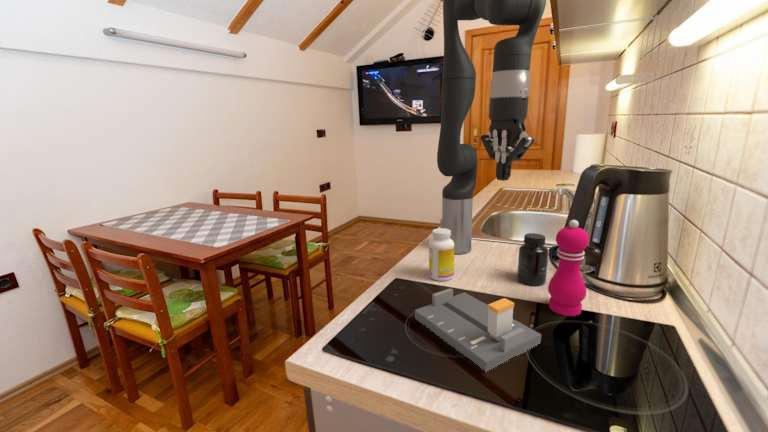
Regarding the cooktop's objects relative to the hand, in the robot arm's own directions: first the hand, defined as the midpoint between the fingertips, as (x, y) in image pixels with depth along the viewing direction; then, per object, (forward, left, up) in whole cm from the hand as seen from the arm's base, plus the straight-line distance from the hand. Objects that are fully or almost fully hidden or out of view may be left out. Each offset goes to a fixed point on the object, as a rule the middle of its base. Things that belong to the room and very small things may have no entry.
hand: (502, 179), depth 77 cm
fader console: (+8, -15, -27) cm, 32 cm away
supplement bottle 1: (-15, -4, -28) cm, 32 cm away
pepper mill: (+13, +7, -28) cm, 31 cm away
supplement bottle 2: (0, +13, -28) cm, 30 cm away
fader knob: (+14, -15, -25) cm, 33 cm away
